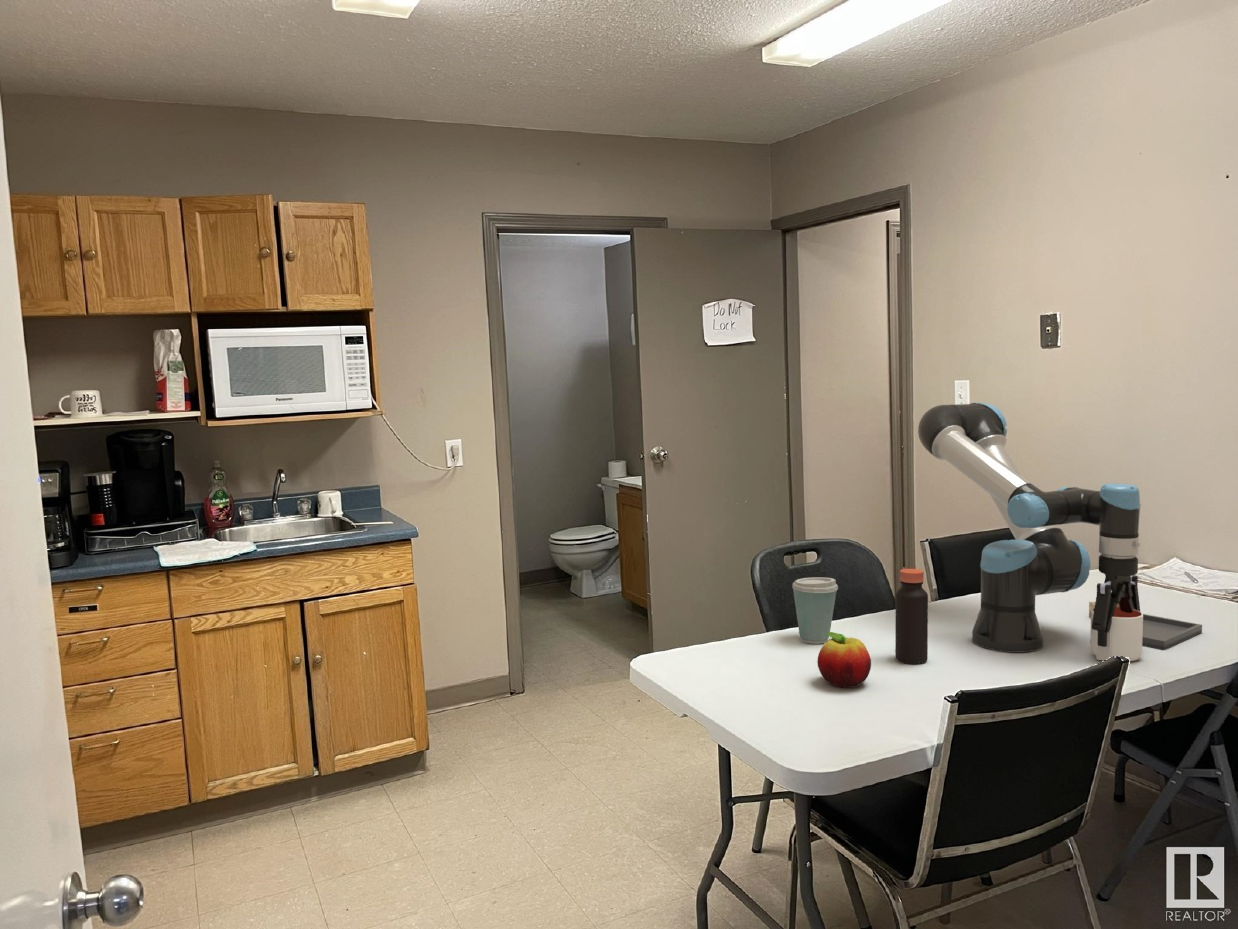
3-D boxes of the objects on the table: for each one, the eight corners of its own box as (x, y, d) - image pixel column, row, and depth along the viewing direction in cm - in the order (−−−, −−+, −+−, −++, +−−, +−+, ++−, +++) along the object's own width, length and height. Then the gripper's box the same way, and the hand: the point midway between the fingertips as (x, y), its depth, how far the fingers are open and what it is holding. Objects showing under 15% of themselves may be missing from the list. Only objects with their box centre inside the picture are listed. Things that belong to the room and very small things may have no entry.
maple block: (1095, 621, 230) (1096, 605, 229) (1088, 617, 234) (1089, 601, 233) (1112, 621, 229) (1113, 605, 229) (1105, 617, 233) (1105, 601, 233)
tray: (1163, 650, 206) (1164, 641, 205) (1091, 635, 218) (1091, 626, 218) (1201, 633, 218) (1202, 624, 217) (1131, 619, 230) (1131, 611, 230)
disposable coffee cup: (783, 641, 220) (783, 579, 218) (807, 631, 228) (807, 571, 226) (822, 649, 213) (822, 585, 211) (846, 639, 220) (846, 577, 219)
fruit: (838, 695, 183) (838, 646, 182) (806, 679, 193) (806, 633, 192) (882, 687, 187) (882, 639, 186) (848, 671, 197) (848, 626, 196)
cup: (1148, 664, 196) (1150, 618, 195) (1097, 662, 198) (1099, 617, 197) (1132, 650, 206) (1133, 606, 205) (1084, 649, 208) (1085, 605, 207)
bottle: (888, 658, 205) (889, 569, 203) (913, 653, 208) (913, 566, 206) (909, 666, 199) (910, 575, 197) (934, 662, 202) (934, 572, 200)
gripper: (1111, 565, 190) (1108, 670, 192) (1160, 550, 204) (1157, 648, 206) (1074, 560, 196) (1072, 662, 198) (1125, 546, 210) (1122, 641, 212)
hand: (1115, 655), depth 202 cm, fingers closed on cup, 10 cm apart
